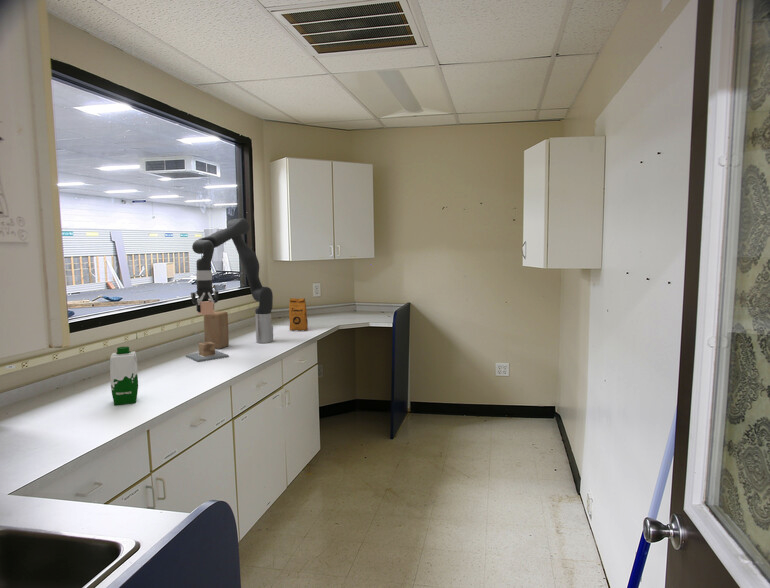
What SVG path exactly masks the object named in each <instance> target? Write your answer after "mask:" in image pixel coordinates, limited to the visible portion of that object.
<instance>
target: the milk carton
mask: <svg viewBox="0 0 770 588" xmlns="http://www.w3.org/2000/svg"><path fill="white" fill-rule="evenodd" d="M109 369H110V370H109V373H110V389H111V396H112V400H113V401H112V402H113V406H121V405H129V404H136V403H137V398H138V389H139V379H138V378H139V374H138V360H137V354H136V351H132V350H131V351H130V346H120V347H117V348H116V352H113V353H111V355H110V358H109Z"/></svg>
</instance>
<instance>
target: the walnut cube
mask: <svg viewBox="0 0 770 588" xmlns="http://www.w3.org/2000/svg"><path fill="white" fill-rule="evenodd" d="M215 350H216V349H215V343H212V342H205V341H204V342H200V343H198V353H199V355H201V356H211V355H215Z"/></svg>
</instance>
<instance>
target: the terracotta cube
mask: <svg viewBox="0 0 770 588" xmlns="http://www.w3.org/2000/svg"><path fill="white" fill-rule="evenodd" d="M200 308H201V312H198V311H197V314H198V315H201V316H204V315H205V314H214V311H215V304H214V305H213V302H210V301H209V300H207V301H205V300H204V301H201V303H200Z"/></svg>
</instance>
